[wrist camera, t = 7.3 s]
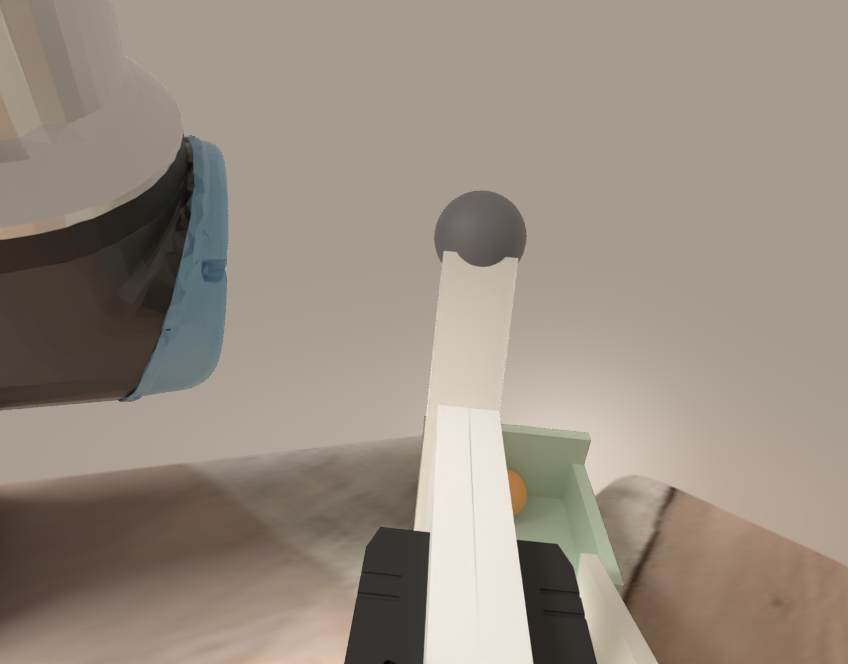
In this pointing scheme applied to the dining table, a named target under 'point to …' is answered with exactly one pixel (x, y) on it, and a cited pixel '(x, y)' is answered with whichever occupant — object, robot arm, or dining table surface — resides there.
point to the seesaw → (500, 375)
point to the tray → (556, 494)
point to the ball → (516, 491)
